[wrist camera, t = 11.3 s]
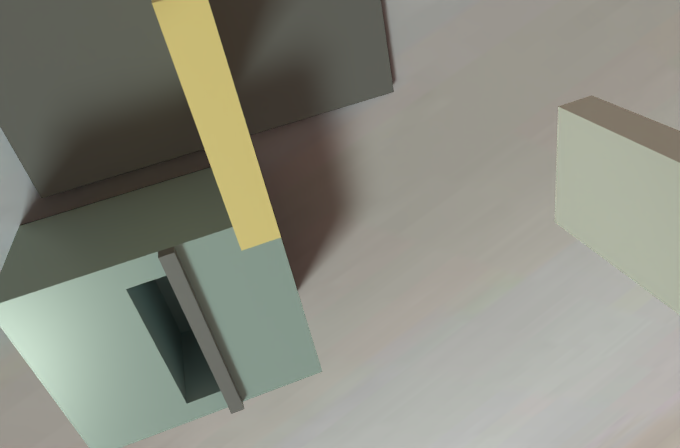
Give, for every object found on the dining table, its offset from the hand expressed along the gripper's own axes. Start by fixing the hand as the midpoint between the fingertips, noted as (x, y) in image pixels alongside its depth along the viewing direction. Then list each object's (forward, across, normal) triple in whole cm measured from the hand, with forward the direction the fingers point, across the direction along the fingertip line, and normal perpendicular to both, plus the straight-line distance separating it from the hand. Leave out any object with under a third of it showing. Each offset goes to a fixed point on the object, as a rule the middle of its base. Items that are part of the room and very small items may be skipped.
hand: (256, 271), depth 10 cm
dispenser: (+24, -5, -14) cm, 28 cm away
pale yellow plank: (+23, +1, 0) cm, 23 cm away
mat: (+24, +1, 0) cm, 24 cm away
